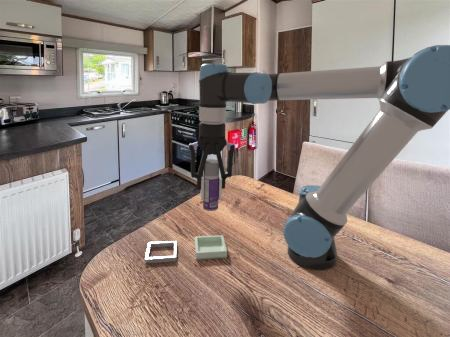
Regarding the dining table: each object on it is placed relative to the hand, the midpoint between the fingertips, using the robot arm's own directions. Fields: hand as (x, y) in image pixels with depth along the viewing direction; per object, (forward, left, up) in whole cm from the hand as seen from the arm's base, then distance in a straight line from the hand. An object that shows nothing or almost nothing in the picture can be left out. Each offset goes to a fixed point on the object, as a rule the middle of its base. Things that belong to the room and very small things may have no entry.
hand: (210, 198), depth 87 cm
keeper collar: (+14, +6, -18) cm, 24 cm away
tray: (0, 0, -18) cm, 18 cm away
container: (0, 0, -3) cm, 3 cm away
